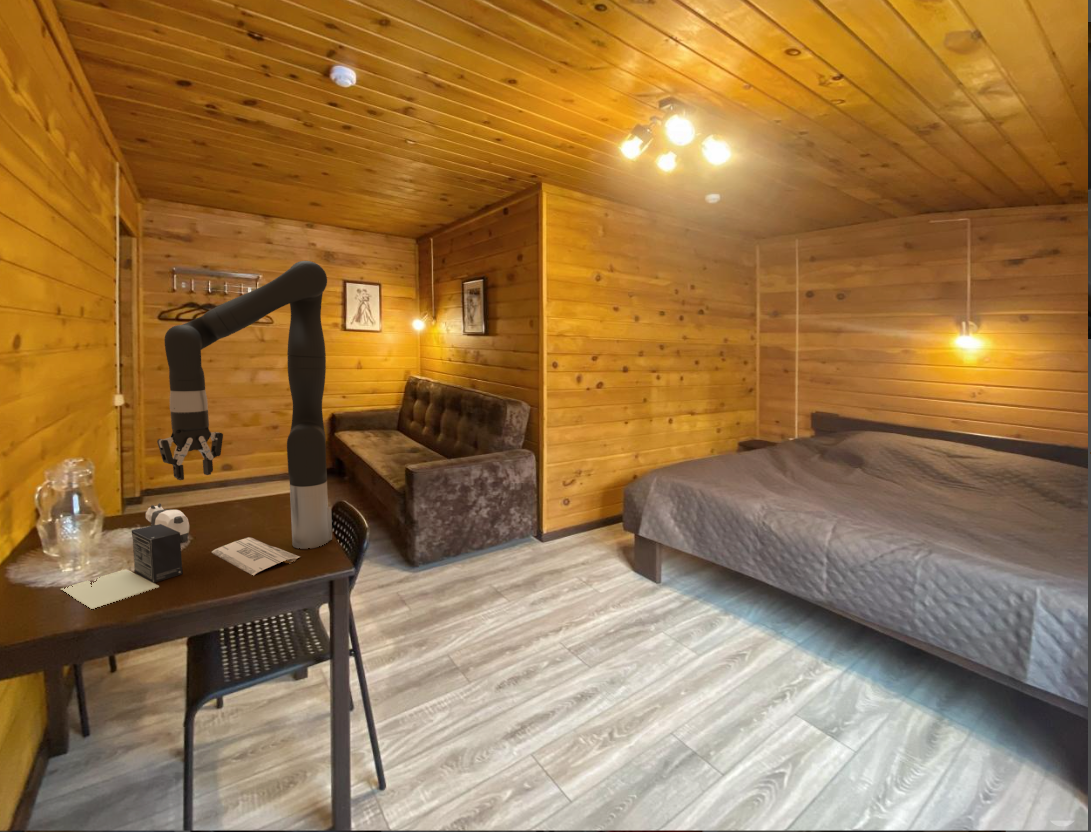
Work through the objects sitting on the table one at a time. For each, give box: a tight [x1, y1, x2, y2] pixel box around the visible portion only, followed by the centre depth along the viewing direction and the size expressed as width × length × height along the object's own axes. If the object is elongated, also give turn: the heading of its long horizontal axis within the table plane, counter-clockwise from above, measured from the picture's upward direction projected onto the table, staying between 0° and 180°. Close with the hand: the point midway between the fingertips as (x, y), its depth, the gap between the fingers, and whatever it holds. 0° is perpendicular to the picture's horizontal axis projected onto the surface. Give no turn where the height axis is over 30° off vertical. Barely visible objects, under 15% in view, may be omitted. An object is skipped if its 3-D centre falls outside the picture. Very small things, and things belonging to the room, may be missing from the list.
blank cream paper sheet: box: [60, 568, 160, 610], centre depth 115 cm, size 12×16×1 cm
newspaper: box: [211, 536, 301, 577], centre depth 134 cm, size 23×12×2 cm, turn 55°
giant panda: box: [145, 503, 190, 543], centre depth 143 cm, size 15×6×10 cm, turn 65°
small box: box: [131, 524, 183, 584], centre depth 122 cm, size 11×6×10 cm, turn 58°
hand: (194, 476), depth 128 cm, fingers open, 5 cm apart
